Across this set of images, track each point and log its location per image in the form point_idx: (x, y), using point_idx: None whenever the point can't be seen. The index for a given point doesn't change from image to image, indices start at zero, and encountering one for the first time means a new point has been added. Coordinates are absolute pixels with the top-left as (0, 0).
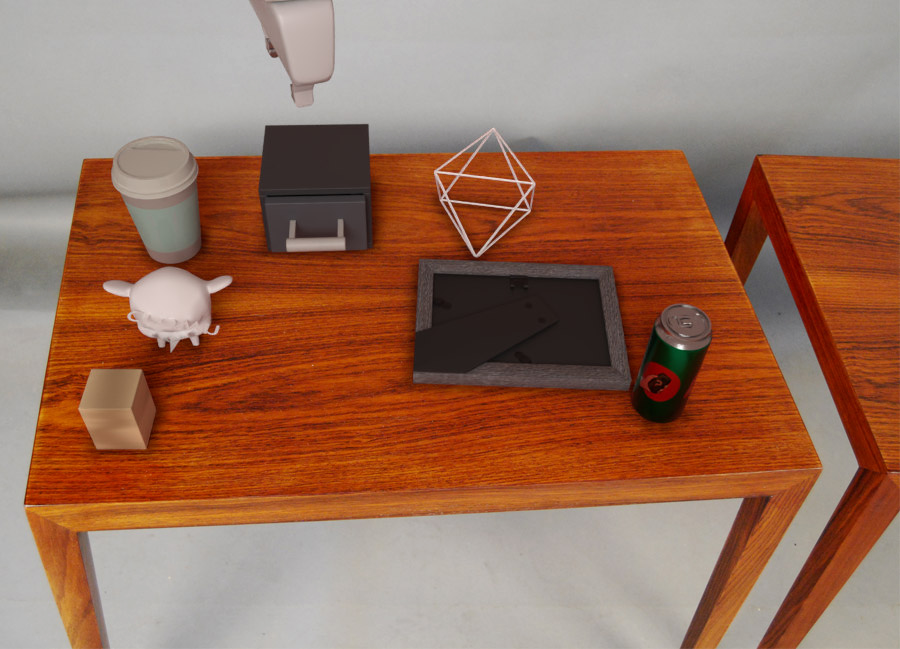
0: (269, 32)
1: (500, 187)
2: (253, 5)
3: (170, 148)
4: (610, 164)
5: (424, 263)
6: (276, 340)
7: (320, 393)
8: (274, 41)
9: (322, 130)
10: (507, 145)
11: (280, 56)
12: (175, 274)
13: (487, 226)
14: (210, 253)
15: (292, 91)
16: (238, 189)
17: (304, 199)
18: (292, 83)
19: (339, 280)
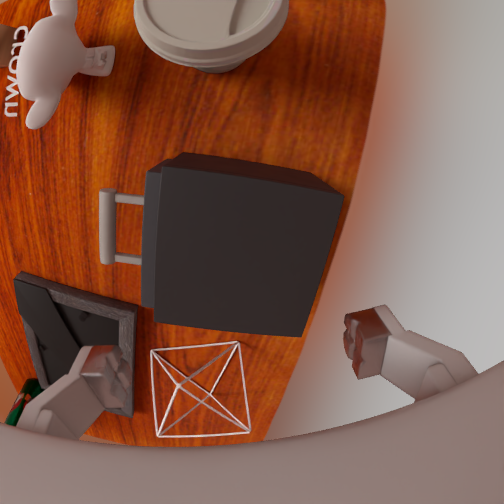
0: (120, 494)
1: (247, 383)
2: (443, 426)
3: (246, 19)
4: (257, 436)
5: (128, 315)
6: (54, 160)
7: (8, 199)
8: (51, 480)
9: (304, 280)
10: (218, 435)
11: (3, 449)
12: (29, 64)
13: (194, 365)
14: (193, 83)
15: (88, 366)
16: (315, 128)
17: (150, 231)
18: (55, 392)
19: (125, 228)
